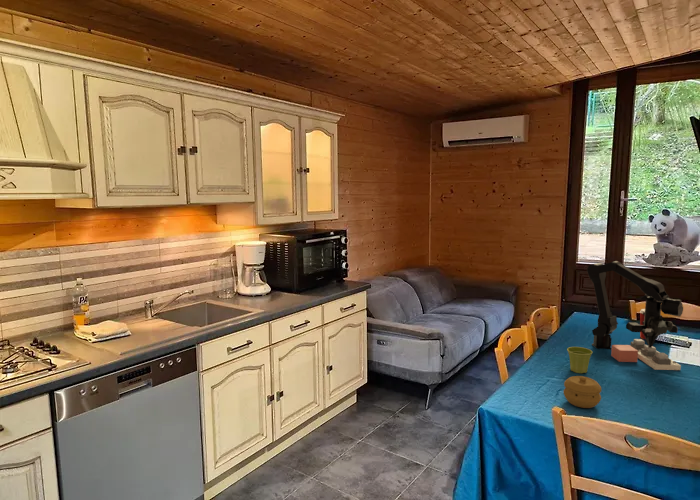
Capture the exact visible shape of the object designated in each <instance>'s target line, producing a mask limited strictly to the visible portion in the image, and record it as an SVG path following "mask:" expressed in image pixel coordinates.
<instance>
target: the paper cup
mask: <svg viewBox="0 0 700 500" xmlns="http://www.w3.org/2000/svg"><path fill="white" fill-rule="evenodd" d="M643 312H645V308H641V309H640V311H639V313H640V314H639V318H640V319H639V324H640V325H644V324H642V322H643V321H644V317H645V315H643ZM639 336H640V338H639V339H642V340H646V339H645V336H644V335H643V333H642V332H639Z"/></svg>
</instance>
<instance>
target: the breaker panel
mask: <svg viewBox="0 0 700 500" xmlns="http://www.w3.org/2000/svg"><path fill="white" fill-rule="evenodd" d="M633 342H634V341H630V344H629V345H630V346H632V347H633V348H635V349H636V350H638V359H639V360H640V361H641V362H643V363H644V364H646V365H647V366H648V367H650V368H652V369H653V370H656V371H657V370H660V371H661V370H662V371H663V370H665V371H681V367H682V365H681V364H679V363H678V362H676V360H673V359H671V358H670V357H668V359H658V358H657V357H655V356H656V353H661V352H660V351H658V350H656V352H647V351H646V350H644V346H648V344H645V345H636V344H635V343H633Z"/></svg>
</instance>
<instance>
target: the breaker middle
mask: <svg viewBox="0 0 700 500" xmlns="http://www.w3.org/2000/svg"><path fill="white" fill-rule="evenodd" d="M644 350H646V351H647V352H656V351H657V348H656V347H655V346H653V345H652V347H649V346H648V345H647V346H644Z"/></svg>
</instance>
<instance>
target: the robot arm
mask: <svg viewBox="0 0 700 500" xmlns="http://www.w3.org/2000/svg"><path fill="white" fill-rule="evenodd" d="M586 272H587V275H588V278H589V280H590V281H591V282H592V284H593V288H594V293H595V299H596V305H597V309H598V318H597V326H596V327H595V328H594V329H592V330H591V333H592V335H593V343H591V346H593V347H594V348H596V349H597V350H612V340H613V339H612V337H611V335H612V333H613V332H614V331H615V330H616V329H618V325H619V322H618V320H617V319H618V318H617V315H613V314H612V312H611V308H610V304H609V303H610V302H609V297H608V293H607V288H606V287H607V286H606V283H605V282H606V276H607V272H614V273H616V274H617V275H619V276H621V277H623V278H624V279H626V280H628V281H629V282H631V283H633V284H634V285H636V286H637V287H638V288H639V289H640V291H641V292H642V293H643V294H644V296H642V297H640V298H639V299H640V301H644V302H645V306H644V309H645V312H643V315H645V317H644V321H643V322H642V324H644V325H640V323H638V322H627V323H626V325H625V329H627V330H628V331H630V332H631V333H640V332H642V333H643V335H644V336H645V339H644V340H645V342H646V343H647V344H646V345H647V346H649V347H652V346H653V345H654V344H655V342H656V339H657V338H658V337H659V336H660V335H664V334H665V335H666V334H667V333H671V334H672V333H674V334H678V329H679V328H678V327H677V326H676V325H675V324H673V322H672V321H666V320H665V321H664V320H663V315H661V314H662V313H663V314H664V315H669V316H674V317H678V318H680V317H682V315H683V313H684V306H683V302H682V299H675V298H674V299H673V298H670V295H668V293H667V292H666V290H665V285H664V284H662V283H661V282H660V281H657V280H654V279H651V278H647V277H644V276H643V275H641V274H639V273H638V272H636V271H634V270H632V268H629V267H627V266H626V265H624V264H622V263H621V262H620V261H618V260H615V261H611V262H608V263H601V262H596V263H592V264H589V265H588V267H587V268H586ZM661 312H662V313H661Z"/></svg>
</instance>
